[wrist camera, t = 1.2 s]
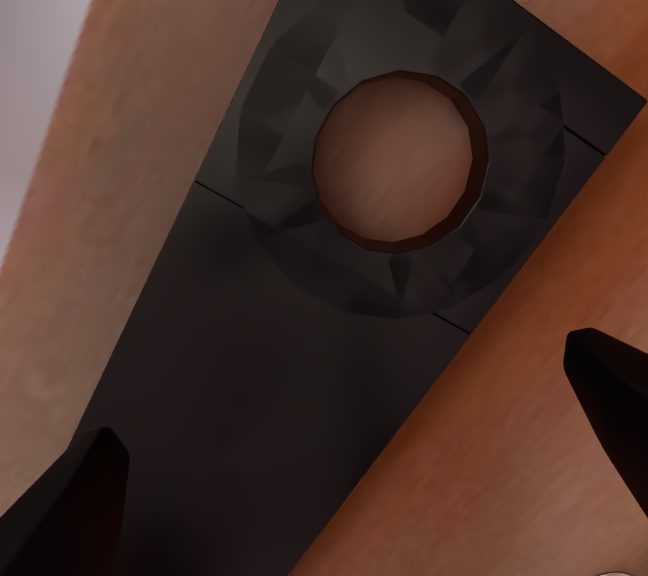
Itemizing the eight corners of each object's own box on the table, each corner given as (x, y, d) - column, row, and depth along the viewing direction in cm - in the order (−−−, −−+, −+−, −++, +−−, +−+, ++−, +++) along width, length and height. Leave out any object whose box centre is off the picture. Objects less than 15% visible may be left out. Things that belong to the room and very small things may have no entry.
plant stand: (241, 610, 30) (236, 643, 28) (33, 533, 27) (12, 563, 25) (616, 103, 19) (649, 100, 17) (337, -102, 17) (340, -131, 15)
